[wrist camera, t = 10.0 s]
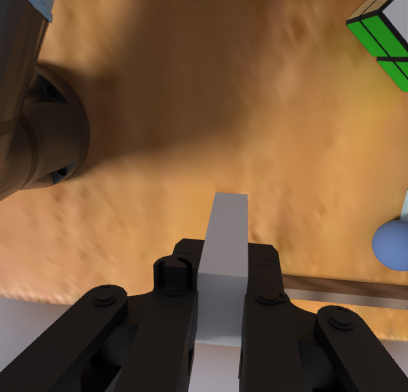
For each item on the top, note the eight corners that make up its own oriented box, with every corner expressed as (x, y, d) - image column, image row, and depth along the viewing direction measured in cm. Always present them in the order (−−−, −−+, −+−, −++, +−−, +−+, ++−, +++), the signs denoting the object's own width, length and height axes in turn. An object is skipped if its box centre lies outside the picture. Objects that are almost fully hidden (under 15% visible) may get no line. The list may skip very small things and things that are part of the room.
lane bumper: (242, 280, 49) (242, 293, 47) (254, 151, 42) (254, 157, 39) (492, 303, 46) (507, 319, 44) (550, 168, 39) (573, 177, 36)
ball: (417, 256, 44) (367, 242, 46) (436, 218, 41) (381, 205, 43) (420, 288, 40) (364, 271, 42) (442, 248, 36) (380, 232, 38)
